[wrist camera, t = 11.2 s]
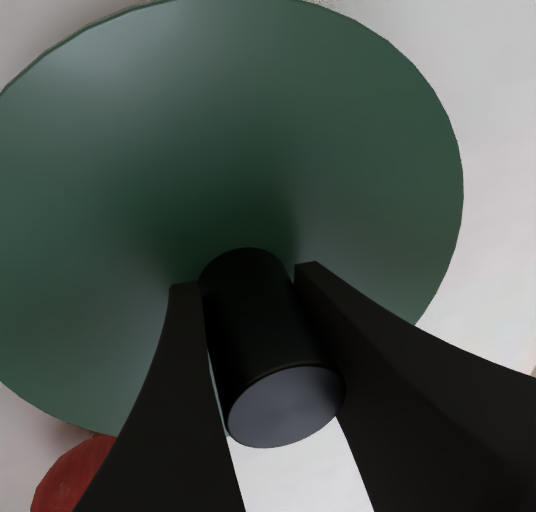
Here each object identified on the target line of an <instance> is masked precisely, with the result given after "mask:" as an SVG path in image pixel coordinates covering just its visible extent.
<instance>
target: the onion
mask: <svg viewBox="0 0 536 512" xmlns="http://www.w3.org/2000/svg"><path fill="white" fill-rule="evenodd" d="M116 439H117V437H115V436H111V435H106V434H101V433H97V434H95V435H94V436H92V437H91V438H90V439H88V440H86V441H84V442H82V443H80V444H79V445H77V446H76V447H74V448H72V449H71V450H69V451H68V452H67V453H65V454H64V455H62V456H61V457H59V458H58V460H57V461H56V462H55V463H54V465H53V466H52V467H51V468H50V469H49V471H48V472H47V473H46V475H45V476H44V478H43V479H42V481H41V482H40V483H39V485H38V486H37V488H36V491H35V494H34V498H33V501H32V504H31V508H30V512H71V511H72V510H73V508H74V507H75V505H76V504H77V502H78V501H79V499H80V498H81V496H82V494H83V493H84V491H85V490H86V488H87V486H88V485H89V483H90V482H91V480H92V479H93V477H94V475H95V474H96V472H97V471H98V469H99V467H100V466H101V464H102V463H103V461H104V459H105V458H106V456H107V454H108V453H109V451H110V449H111V447H112V446H113V444H114V442H115V440H116Z"/></svg>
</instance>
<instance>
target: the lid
mask: <svg viewBox="0 0 536 512" xmlns="http://www.w3.org/2000/svg"><path fill="white" fill-rule="evenodd" d="M463 200H464V193H463V170H462V164H461V159H460V153H459V147H458V143H457V140H456V137H455V134H454V132H453V129H452V126H451V123H450V120H449V117H448V115H447V113H446V111H445V110H444V108H443V106H442V104H441V102H440V100H439V99H438V97H437V95H436V93H435V91H434V89H433V88H432V87H431V86H430V84H429V83H428V82H427V80H426V79H425V78H424V77H423V75H422V74H421V73H420V72H419V70H418V69H417V68H416V66H415V65H414V64H413V63H412V62H411V61H410V60H409V59H408V58H406V57H405V56H404V55H403V54H402V53H401V52H400V51H399V50H398V49H396V48H395V47H394V46H393V45H392V44H391V43H390V42H389V41H388V40H386V39H385V38H383V37H381V36H380V35H378V34H377V33H375V32H373V31H372V30H370V29H369V28H367V27H366V26H364V25H362V24H361V23H359V22H358V21H356V20H354V19H352V18H349V17H347V16H344V15H342V14H340V13H337V12H335V11H332V10H330V9H328V8H325V7H323V6H320V5H318V4H314V3H310V2H305V1H301V0H154V1H150V2H146V3H142V4H137V5H133V6H130V7H128V8H125V9H123V10H121V11H118V12H116V13H114V14H111V15H109V16H106V17H104V18H102V19H99V20H97V21H95V22H92V23H90V24H87V25H86V26H84V27H82V28H81V29H79V30H77V31H76V32H74V33H73V34H71V35H69V36H68V37H66V38H65V39H63V40H61V41H60V42H58V43H57V44H55V45H53V46H52V47H50V48H49V49H47V50H45V51H44V52H43V53H42V54H41V55H40V56H39V57H37V58H36V59H35V60H34V61H33V62H32V63H31V64H29V65H28V66H27V67H26V68H25V69H24V70H23V71H21V72H20V73H19V74H18V75H17V76H16V77H15V78H14V79H12V80H11V81H10V82H9V83H8V84H7V85H6V86H5V87H4V89H3V90H2V91H1V92H0V381H1V382H2V383H3V384H4V385H6V386H7V387H8V388H9V389H11V390H12V391H13V392H14V393H16V394H17V395H18V396H19V397H21V398H22V399H24V400H25V401H27V402H29V403H30V404H32V405H34V406H35V407H37V408H39V409H40V410H42V411H44V412H45V413H47V414H49V415H52V416H54V417H56V418H58V419H61V420H63V421H65V422H67V423H69V424H72V425H75V426H78V427H81V428H84V429H87V430H90V431H93V432H97V433H101V434H106V435H111V436H115V437H118V435H119V433H120V431H121V429H122V427H123V425H124V423H125V421H126V420H127V418H128V416H129V414H130V412H131V410H132V408H133V405H134V403H135V401H136V399H137V397H138V395H139V392H140V390H141V388H142V386H143V383H144V381H145V378H146V376H147V373H148V371H149V368H150V365H151V362H152V360H153V357H154V354H155V352H156V349H157V346H158V342H159V339H160V335H161V332H162V328H163V325H164V321H165V316H166V311H167V306H168V297H169V288H170V286H171V285H172V284H177V283H183V282H189V281H195V280H197V283H198V286H199V289H200V292H201V296H202V303H203V312H204V321H205V330H206V340H207V348H208V357H209V366H210V374H211V379H212V383H213V387H214V391H215V395H216V400H217V404H218V408H219V412H220V416H221V420H222V424H223V428H224V432H225V436H226V437H227V436H231V437H232V438H233V439H234V440H235V441H236V442H238V443H240V444H242V445H245V446H248V447H253V448H275V447H281V446H285V445H289V444H292V443H295V442H297V441H300V440H302V439H304V438H306V437H308V436H310V435H312V434H314V433H315V432H317V431H318V430H320V429H321V428H323V427H324V426H325V425H326V424H328V423H329V422H330V421H331V420H332V419H333V418H334V417H335V415H336V414H337V413H338V411H339V410H340V408H341V407H342V405H343V403H344V400H345V397H346V381H345V379H344V376H343V374H342V373H341V371H340V369H339V367H338V365H337V363H336V362H335V360H334V358H333V356H332V354H331V352H330V350H329V349H328V347H327V345H326V343H325V341H324V339H323V338H322V336H321V334H320V332H319V330H318V328H317V326H316V325H315V323H314V321H313V319H312V317H311V315H310V314H309V312H308V310H307V308H306V306H305V304H304V302H303V301H302V299H301V297H300V295H299V293H298V291H297V290H296V288H295V286H294V264H299V263H305V262H311V261H317V262H319V263H320V264H321V265H323V266H324V267H326V268H327V269H329V270H330V271H331V272H333V273H334V274H336V275H337V276H338V277H340V278H341V279H343V280H344V281H345V282H347V283H348V284H350V285H351V286H352V287H354V288H355V289H357V290H358V291H360V292H361V293H363V294H364V295H365V296H367V297H368V298H370V299H371V300H373V301H374V302H376V303H378V304H379V305H381V306H382V307H384V308H385V309H387V310H389V311H390V312H392V313H394V314H395V315H397V316H399V317H400V318H402V319H404V320H405V321H407V322H409V323H410V324H412V325H415V324H416V323H417V322H418V320H419V319H420V318H421V316H422V315H423V314H424V312H425V310H426V309H427V307H428V306H429V304H430V302H431V301H432V299H433V298H434V296H435V294H436V292H437V290H438V288H439V286H440V284H441V282H442V280H443V278H444V276H445V274H446V272H447V269H448V267H449V264H450V261H451V258H452V256H453V253H454V250H455V247H456V243H457V238H458V234H459V230H460V226H461V219H462V209H463Z"/></svg>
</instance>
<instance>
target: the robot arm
mask: <svg viewBox="0 0 536 512" xmlns="http://www.w3.org/2000/svg"><path fill="white" fill-rule="evenodd" d="M294 286H295V288H296V290H297V291H298V293H299V295H300V297H301V299H302V301H303V302H304V304H305V306H306V308H307V310H308V312H309V314H310V315H311V317H312V319H313V321H314V323H315V325H316V326H317V328H318V330H319V332H320V334H321V336H322V338H323V339H324V341H325V343H326V345H327V347H328V349H329V350H330V352H331V354H332V356H333V358H334V360H335V362H336V363H337V365H338V367H339V369H340V371H341V373H342V374H343V376H344V379H345V381H346V397H345V400H344V403H343V405H342V407H341V408H340V410H339V411H338V413H337V414H336V415H335V416H336V418H337V420H338V422H339V424H340V426H341V428H342V430H343V433H344V435H345V437H346V439H347V442H348V444H349V447H350V449H351V452H352V454H353V457H354V459H355V462H356V465H357V467H358V470H359V472H360V475H361V477H362V480H363V483H364V485H365V488H366V491H367V493H368V496H369V499H370V501H371V504H372V507H373V510H374V512H536V378H535V377H532V376H529V375H526V374H523V373H520V372H517V371H514V370H512V369H509V368H506V367H504V366H501V365H499V364H496V363H493V362H491V361H488V360H486V359H484V358H481V357H479V356H476V355H474V354H472V353H469V352H467V351H465V350H462V349H460V348H458V347H456V346H454V345H451V344H449V343H447V342H445V341H443V340H441V339H439V338H437V337H435V336H433V335H431V334H429V333H427V332H425V331H423V330H421V329H420V328H418V327H416V326H414V325H412V324H410V323H409V322H407V321H405V320H404V319H402V318H400V317H399V316H397V315H395V314H394V313H392V312H390V311H389V310H387V309H385V308H384V307H382V306H381V305H379V304H378V303H376V302H374V301H373V300H371V299H370V298H368V297H367V296H365V295H364V294H363V293H361V292H360V291H358V290H357V289H355V288H354V287H352V286H351V285H350V284H348V283H347V282H345V281H344V280H343V279H341V278H340V277H338V276H337V275H336V274H334V273H333V272H331V271H330V270H329V269H327V268H326V267H324V266H323V265H321V264H320V263H319V262H317V261H311V262H305V263H299V264H294ZM71 512H246V510H245V507H244V503H243V499H242V496H241V492H240V488H239V485H238V481H237V478H236V474H235V470H234V466H233V462H232V459H231V455H230V451H229V447H228V443H227V439H226V436H225V432H224V428H223V424H222V420H221V416H220V412H219V408H218V404H217V400H216V395H215V391H214V387H213V383H212V379H211V374H210V366H209V357H208V348H207V340H206V330H205V321H204V312H203V303H202V296H201V292H200V289H199V286H198V283H197V280H195V281H189V282H183V283H177V284H172V285H171V286H170V288H169V297H168V306H167V311H166V316H165V321H164V325H163V328H162V332H161V335H160V339H159V342H158V346H157V349H156V352H155V354H154V357H153V360H152V362H151V365H150V368H149V371H148V373H147V376H146V378H145V381H144V383H143V386H142V388H141V390H140V392H139V395H138V397H137V399H136V401H135V403H134V405H133V408H132V410H131V412H130V414H129V416H128V418H127V420H126V421H125V423H124V425H123V427H122V429H121V431H120V433H119V435H118V437H117V439H116V440H115V442H114V444H113V446H112V447H111V449H110V451H109V453H108V454H107V456H106V458H105V459H104V461H103V463H102V464H101V466H100V467H99V469H98V471H97V472H96V474H95V475H94V477H93V479H92V480H91V482H90V483H89V485H88V486H87V488H86V490H85V491H84V493H83V494H82V496H81V498H80V499H79V501H78V502H77V504H76V505H75V507H74V508H73V510H72V511H71Z"/></svg>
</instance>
